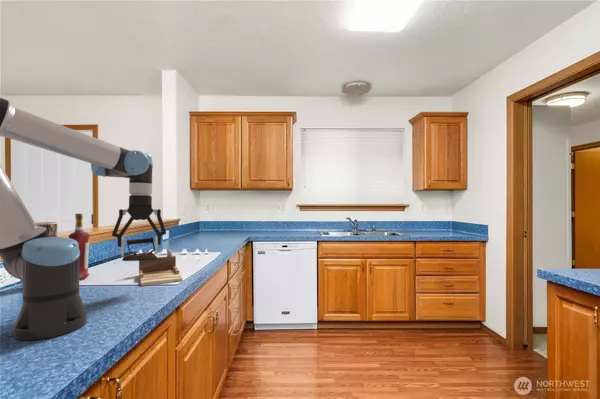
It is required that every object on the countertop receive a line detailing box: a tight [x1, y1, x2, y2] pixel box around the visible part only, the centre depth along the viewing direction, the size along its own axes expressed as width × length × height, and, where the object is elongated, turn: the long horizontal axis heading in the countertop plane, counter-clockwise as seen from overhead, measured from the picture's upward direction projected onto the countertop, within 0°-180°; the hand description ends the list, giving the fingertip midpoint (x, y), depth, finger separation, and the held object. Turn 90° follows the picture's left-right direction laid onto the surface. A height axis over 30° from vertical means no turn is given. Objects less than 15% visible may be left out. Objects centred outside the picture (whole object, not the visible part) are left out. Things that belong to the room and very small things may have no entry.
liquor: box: [68, 213, 91, 281], centre depth 131 cm, size 7×7×28 cm
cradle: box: [138, 249, 183, 287], centre depth 133 cm, size 20×15×10 cm
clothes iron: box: [122, 236, 158, 262], centre depth 113 cm, size 7×11×10 cm, turn 129°
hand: (139, 254), depth 113 cm, fingers closed on clothes iron, 10 cm apart
